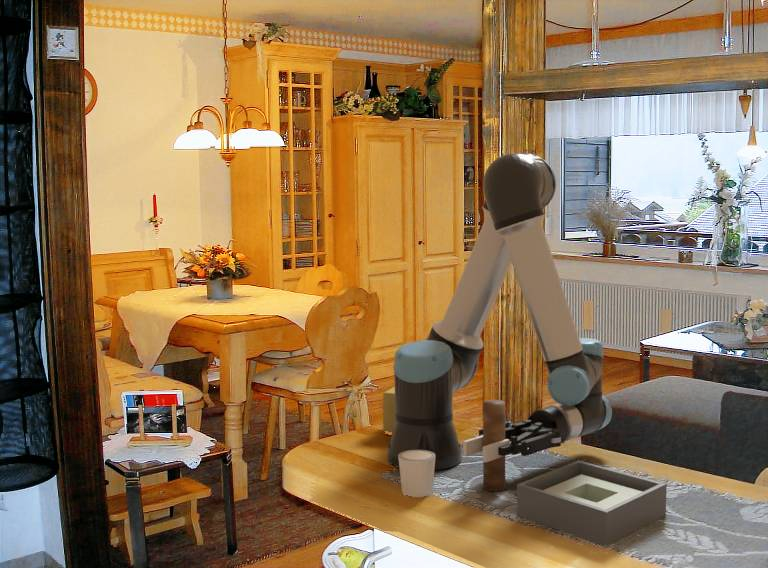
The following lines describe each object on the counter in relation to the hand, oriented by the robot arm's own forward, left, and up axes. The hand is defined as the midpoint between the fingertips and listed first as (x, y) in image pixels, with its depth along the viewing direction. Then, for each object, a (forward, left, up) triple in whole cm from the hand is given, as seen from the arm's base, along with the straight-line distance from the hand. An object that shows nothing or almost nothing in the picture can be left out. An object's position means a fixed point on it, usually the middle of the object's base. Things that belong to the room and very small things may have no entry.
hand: (474, 451), depth 160 cm
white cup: (-9, -6, -9) cm, 14 cm away
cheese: (-37, +20, -9) cm, 43 cm away
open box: (+20, +7, -8) cm, 23 cm away
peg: (0, +5, -8) cm, 10 cm away
